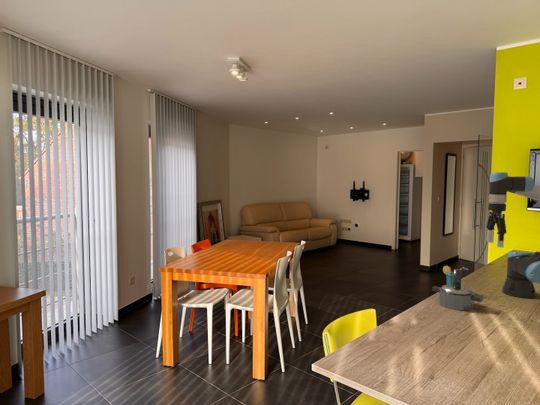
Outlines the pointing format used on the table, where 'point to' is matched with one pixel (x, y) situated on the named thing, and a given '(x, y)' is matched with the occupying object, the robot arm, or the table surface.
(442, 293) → the pot
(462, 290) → the lid
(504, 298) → the table surface
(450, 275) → the cup
